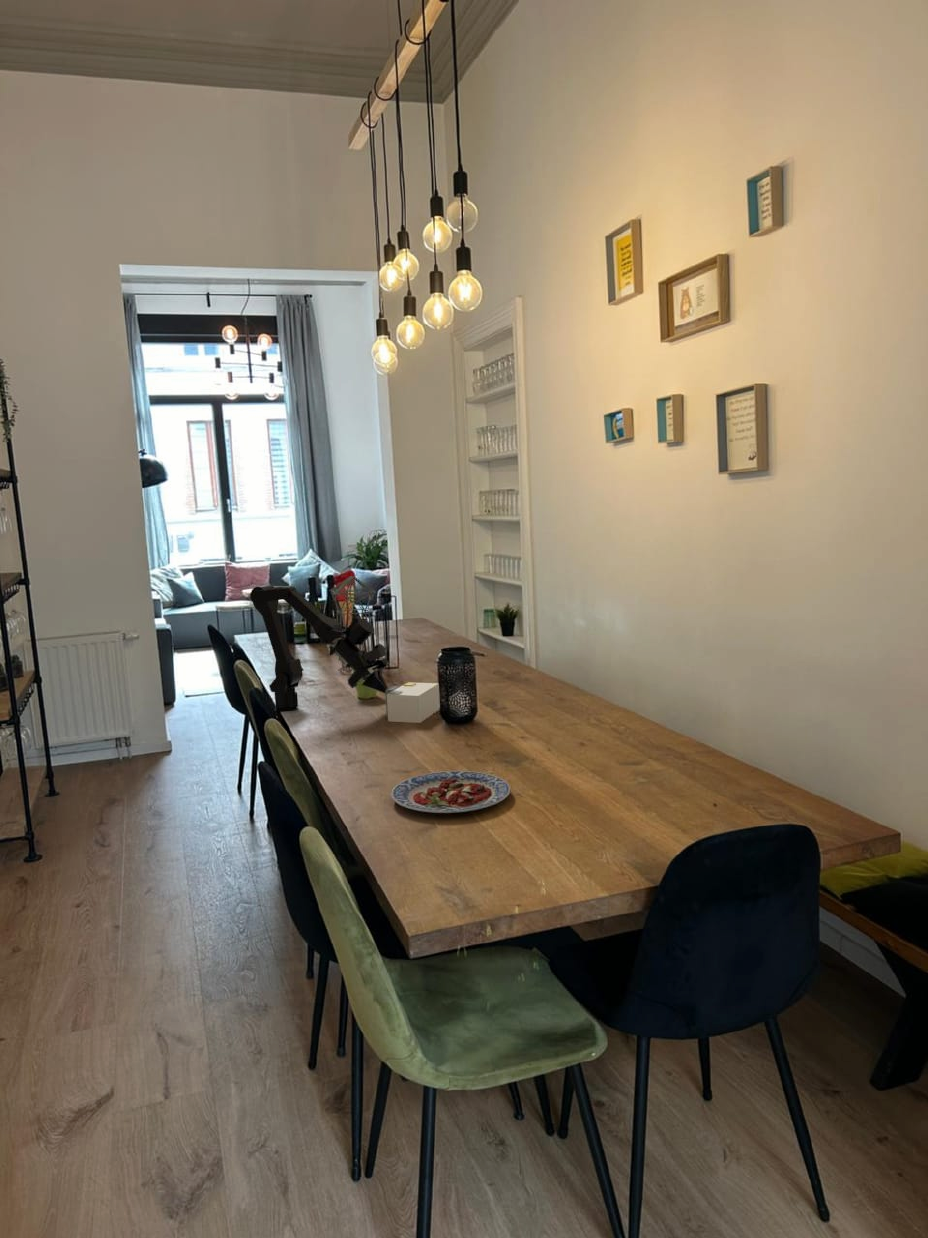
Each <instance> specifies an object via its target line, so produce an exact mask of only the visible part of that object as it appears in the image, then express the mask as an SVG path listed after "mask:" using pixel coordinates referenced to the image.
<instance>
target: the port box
mask: <svg viewBox="0 0 928 1238" xmlns="http://www.w3.org/2000/svg"><path fill="white" fill-rule="evenodd" d="M440 706H441V702H440V685H439V683H434V682H432V683H431V682H409V681H408V682H407V683H404V684H403V685H400V687H399V688H397V689H395V690H394V691H392V692H390V693H388V694H387V710H388V715H387V721H388V722H394V723H397V722H398V723H411V724H412V723H414V724H421V723H423V721H425V720H427V719H428V718H429V717H430V716H433V715H434V714H435V713H437V712H438V711H439V710H440V709H441V707H440ZM439 708H440V709H439ZM436 711H437V712H436ZM433 713H434V714H433ZM426 718H427V719H426Z"/></svg>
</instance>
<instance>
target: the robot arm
mask: <svg viewBox="0 0 928 1238" xmlns="http://www.w3.org/2000/svg"><path fill="white" fill-rule="evenodd" d="M249 597H250V601H251V602H252V605H253V606H254V609H255V610H256V611H257V612H258V614H260V615H261V616H262V617H261V618H262V620H263V622H264V626H265V628H266V629H265V631H266V633H267V635H268V639H269V643H270V645H271V648H272V651H273V654H274V659H275V666H274V674H275V679H274V680H272V682H271V683H270V684H269V685H268V686H269V690H270V691H271V693H274V702H275V703H274V704H275V709H274V711H275V712H282V710H283V711H284V710H286V711H296V710H298V707H299V700H298V692H297V691H296V688H297V687H299V684H300V681H301V680H302V678H303V675H304V673H303V671H304V668H303V667H302V664H301V659H300V658H296V659H295V657H293V655H292V654H291V650H290V647H289V645H288V642H287V641H288V640H287V637H286V634H285V632H284V629H283V625H282V622H281V619H280V616H279V612H278V609H279V603H280V602H279V600H280V601H281V600H283V601H285V602H286V603H287V604H288V605H289V606H290V607H292V609H293V610H295V612H296V613H297V614H298V615H300V616H301V618H303V619H304V620H305V621H306V622H307V623H308V624H309V625H310V626H311V627H312V629H313V633H314V634H315V635H316V636H317V637H318V639H319V640H320V642H322V643H324V644H331V643H334V642H335V644H332V645H330V646H329V656H333V655H336V653H337V654H339V655H340V656H341V657H342V659H344V660H343V661H346V662H345V664H347V665H345V666H347V669H349V667H350V669H351V670H354V671H355V672H354V673H353V674H352V673H351V675H350V677H348V679H347V684H348V686H349V687H350V688H351V689H354V688H356V686H357V683H358V682H359V680H360V679H362V678H363V681H364V682H363V684H362V685H363V686H367V687H370V688H373V689H376V690H377V692H381V693H383V694H385V690H386V689H388V688H389V687H388V685H387V683H386V681H385V679H384V676H383V671H384V670H385V668H387V666H388V665H389V664H390V661H389V660H388V658H386V656H387V652H386V650H387V648H386V646H384V645H382V644H381V643H378V644H376V645H373V650H372V649H370V650H369V652H368V650H366V649H364V650H363V651H362V649H361V648H360V647H359V646H362V644H363V643H364V644H365V643H366V641H367V639H369V637H370V635H371V634H372V635H373V633H374V631H375V628H374V626H373V625H372V623H371V624H370V623H369V621H368V620H367V621H365V619H364V618H363V619H362V617H360V616H355V617H354V619H353V620H352V622H351V623H350V624H349V625H348V626H346V625H345V626H343V624H342V625H341V624H340V622H339V621H338V622H337V620H335V619H334V618H332V617H330V616H327V615H325V614H323V613H322V612H321V611H320V610H318V609H317V608H316V607H315V606H314V605H313V604H312V603H311V602H310V601H309V600H308V599H306V598H305V597H304V596H303V594H301V593H300V592H299V591H297V589H296V587H295V586H293V585H286V586H274V585H272V584H262V585H259V586H255V587H253V588H252V589H251V591H250V593H249ZM344 636H345V638H344ZM340 638H341V639H340ZM342 638H343V639H342ZM339 639H340V640H339ZM337 640H338V641H337ZM336 641H337V643H336ZM358 645H359V646H358ZM341 657H340V658H341ZM284 712H285V711H284Z"/></svg>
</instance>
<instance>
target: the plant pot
mask: <svg viewBox="0 0 928 1238" xmlns="http://www.w3.org/2000/svg"><path fill="white" fill-rule="evenodd" d="M352 670H353V669H352ZM354 672H355V671H354V670H353V671H351V675H352V674H353V673H354ZM363 682H364V681H363V678H362V679H360V680H359V682H358V683H357V686H356V687H355V688H356V689H355V690H356V695H357V698H359V699H362V700H364V699H366V700H369V699H371V698H373V699H374V698H377V693H378V690H376V689H373V688H370V687H367V686H363V685H362V684H363Z"/></svg>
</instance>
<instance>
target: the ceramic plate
mask: <svg viewBox="0 0 928 1238" xmlns="http://www.w3.org/2000/svg"><path fill="white" fill-rule="evenodd" d="M390 793H391V795H390V796H391V799H392V800H393V802H395V803H396V804H398V805H400V806H401V807H403V808H407V809H410V810H413V811H418V812H423V813H425V812H426V813H433V814H435V813H437V814H452V813H453V814H454V813H466V812H471V811H477V810H481V809H484V808H488V807H491V806H494V805H496V804H498V803H500V802H502V801H504V800H505V799H506V798H507V797H509V795H510V793H511V786H510V784H509V782H507V781H506V780H504V779H502V778H501V777H499V776H496V775H493V774H489V773H486V772H480V771H479V772H478V771H470V770H469V771H468V770H445V771H435V772H428V773H424V774H420V775H416V776H413V777H410V778H407V779H405V780H403V781H400V782H399V783H398V784H396V785H395V786H394V787H393V789H391V792H390Z"/></svg>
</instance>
